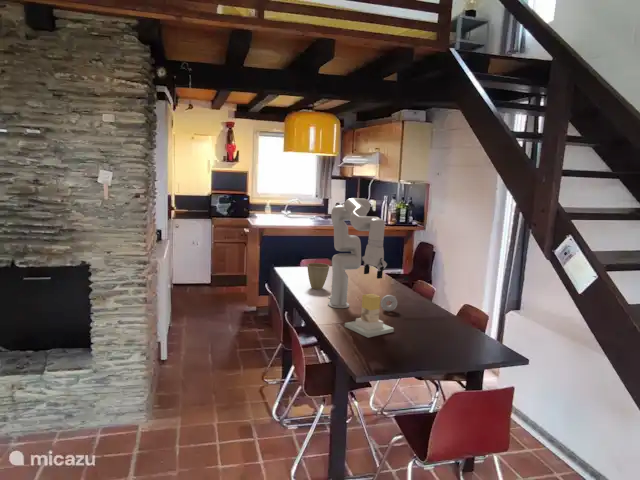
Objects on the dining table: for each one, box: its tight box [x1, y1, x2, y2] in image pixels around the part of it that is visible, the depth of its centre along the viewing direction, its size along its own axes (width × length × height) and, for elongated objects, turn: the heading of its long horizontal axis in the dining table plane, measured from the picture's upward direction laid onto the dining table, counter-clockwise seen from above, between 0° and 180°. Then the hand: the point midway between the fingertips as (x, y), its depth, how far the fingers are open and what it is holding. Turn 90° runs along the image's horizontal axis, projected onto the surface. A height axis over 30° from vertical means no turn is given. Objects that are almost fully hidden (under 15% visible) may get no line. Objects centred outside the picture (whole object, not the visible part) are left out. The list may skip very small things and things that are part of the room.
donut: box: [380, 294, 398, 312], centre depth 284 cm, size 10×3×10 cm, turn 98°
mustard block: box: [361, 293, 381, 310], centre depth 249 cm, size 6×6×6 cm
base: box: [344, 317, 395, 338], centre depth 251 cm, size 18×18×5 cm
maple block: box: [360, 306, 381, 323], centre depth 251 cm, size 6×6×6 cm
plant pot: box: [307, 262, 330, 290], centre depth 326 cm, size 15×15×16 cm
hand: (372, 276), depth 247 cm, fingers open, 9 cm apart
